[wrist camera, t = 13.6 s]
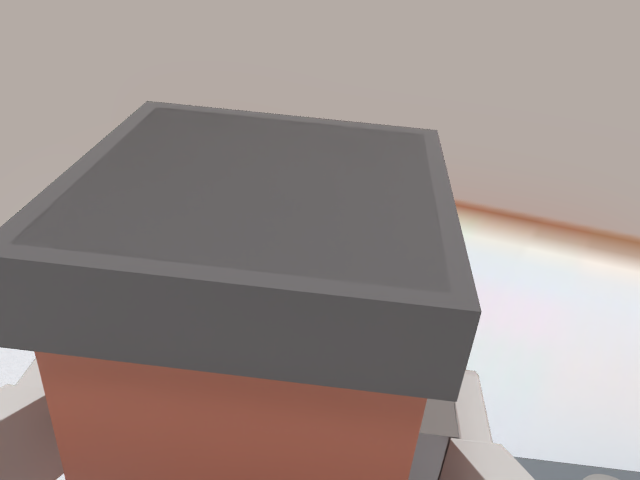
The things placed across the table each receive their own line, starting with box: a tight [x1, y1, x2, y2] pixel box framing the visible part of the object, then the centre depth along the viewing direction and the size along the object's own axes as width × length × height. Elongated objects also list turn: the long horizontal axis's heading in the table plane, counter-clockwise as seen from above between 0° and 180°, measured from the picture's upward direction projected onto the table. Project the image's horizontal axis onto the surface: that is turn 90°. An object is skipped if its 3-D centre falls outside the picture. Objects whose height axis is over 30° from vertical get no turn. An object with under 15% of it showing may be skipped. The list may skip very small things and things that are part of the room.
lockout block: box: [0, 101, 481, 480], centre depth 10 cm, size 5×5×10 cm
